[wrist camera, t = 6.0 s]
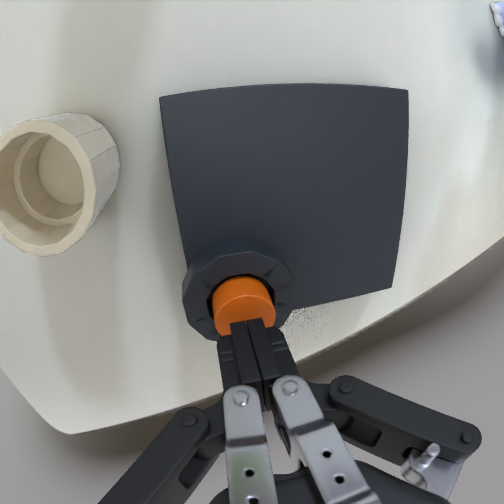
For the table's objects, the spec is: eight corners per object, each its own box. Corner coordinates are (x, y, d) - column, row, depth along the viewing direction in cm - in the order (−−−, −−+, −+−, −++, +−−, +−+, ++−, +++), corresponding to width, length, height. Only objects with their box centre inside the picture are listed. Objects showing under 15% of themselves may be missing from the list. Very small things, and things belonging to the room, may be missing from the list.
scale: (194, 314, 20) (196, 351, 17) (154, 99, 14) (143, 98, 11) (378, 279, 22) (402, 306, 19) (390, 88, 15) (427, 91, 12)
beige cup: (44, 223, 15) (6, 264, 11) (22, 130, 12) (-29, 145, 8) (131, 204, 16) (110, 244, 12) (113, 100, 13) (80, 101, 9)
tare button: (216, 325, 17) (219, 347, 15) (207, 280, 15) (210, 301, 14) (269, 316, 17) (277, 336, 16) (266, 271, 16) (274, 290, 14)
